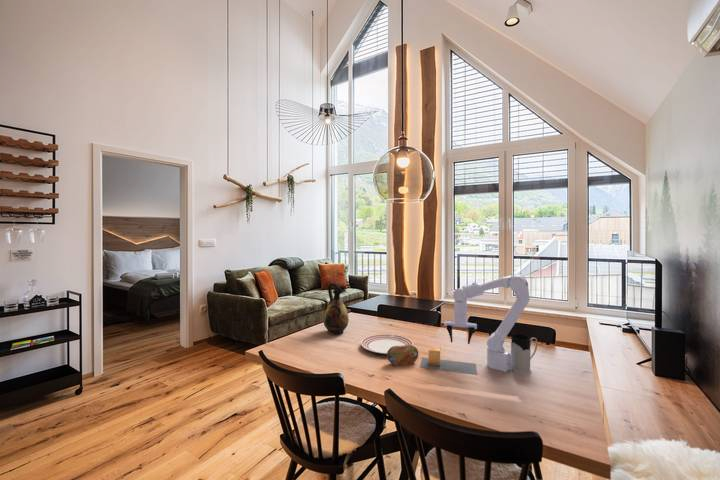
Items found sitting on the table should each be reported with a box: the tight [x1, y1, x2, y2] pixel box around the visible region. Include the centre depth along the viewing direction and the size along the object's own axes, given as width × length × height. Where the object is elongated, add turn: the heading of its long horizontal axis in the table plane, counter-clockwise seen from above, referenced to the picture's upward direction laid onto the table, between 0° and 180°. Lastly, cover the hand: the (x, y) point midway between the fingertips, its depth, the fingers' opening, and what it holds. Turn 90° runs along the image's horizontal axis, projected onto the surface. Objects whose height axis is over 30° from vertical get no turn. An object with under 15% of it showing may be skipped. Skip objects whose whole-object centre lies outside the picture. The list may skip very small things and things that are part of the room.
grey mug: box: [510, 333, 538, 375], centre depth 144 cm, size 9×14×15 cm, turn 111°
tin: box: [386, 345, 419, 366], centre depth 150 cm, size 15×3×8 cm, turn 105°
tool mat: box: [419, 357, 478, 376], centre depth 144 cm, size 24×12×6 cm, turn 74°
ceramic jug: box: [322, 282, 350, 336], centre depth 195 cm, size 17×15×30 cm
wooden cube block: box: [427, 346, 442, 366], centre depth 146 cm, size 5×5×7 cm
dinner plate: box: [360, 333, 414, 355], centre depth 170 cm, size 28×27×3 cm
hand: (460, 342), depth 151 cm, fingers open, 7 cm apart
